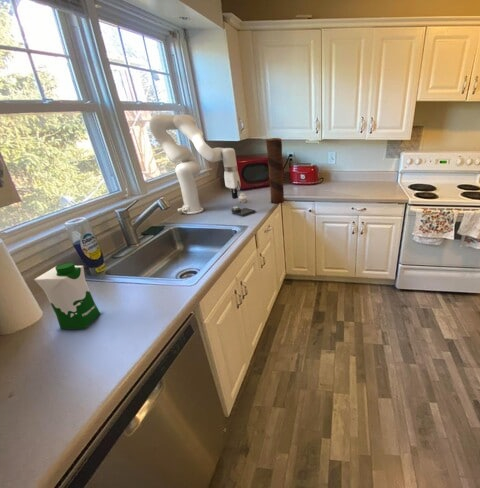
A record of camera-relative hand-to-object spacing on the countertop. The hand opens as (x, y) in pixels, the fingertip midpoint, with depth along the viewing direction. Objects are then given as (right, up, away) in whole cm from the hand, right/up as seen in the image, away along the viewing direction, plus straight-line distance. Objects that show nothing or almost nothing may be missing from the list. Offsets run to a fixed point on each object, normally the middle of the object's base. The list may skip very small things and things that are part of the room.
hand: (235, 198), depth 180 cm
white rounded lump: (-3, +1, +28) cm, 28 cm away
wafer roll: (+23, +2, +30) cm, 37 cm away
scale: (+4, -9, +5) cm, 11 cm away
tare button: (-1, -7, +3) cm, 8 cm away
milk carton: (-19, -54, -92) cm, 108 cm away
